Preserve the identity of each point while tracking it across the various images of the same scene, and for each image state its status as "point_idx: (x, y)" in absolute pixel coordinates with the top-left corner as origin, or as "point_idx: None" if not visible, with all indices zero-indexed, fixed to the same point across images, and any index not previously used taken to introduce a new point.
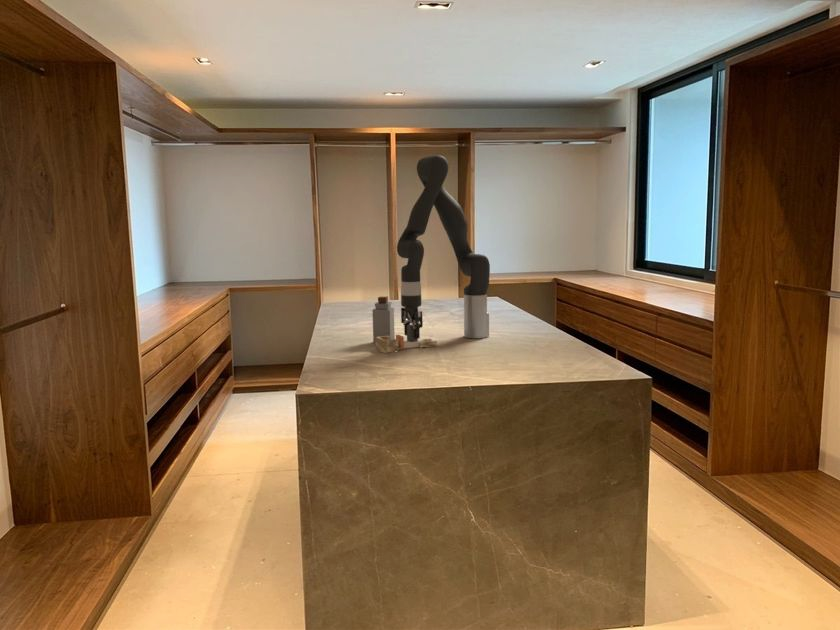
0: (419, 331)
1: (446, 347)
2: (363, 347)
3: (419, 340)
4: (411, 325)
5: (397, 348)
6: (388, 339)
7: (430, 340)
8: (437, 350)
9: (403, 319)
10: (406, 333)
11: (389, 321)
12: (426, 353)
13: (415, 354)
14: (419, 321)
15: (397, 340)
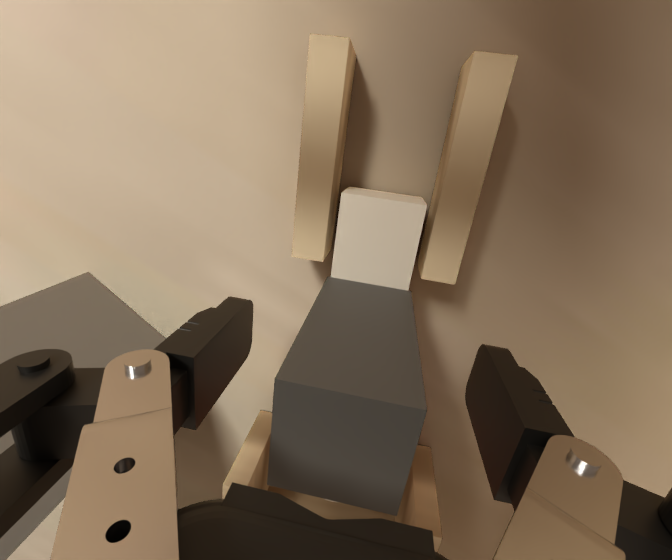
0: (539, 401)
1: (641, 8)
2: (186, 499)
3: (391, 255)
4: (360, 472)
5: (430, 473)
6: (256, 474)
7: (351, 59)
8: (665, 200)
9: (42, 481)
10: (243, 351)
11: (11, 552)
12: (665, 351)
13: (610, 427)
14: (616, 558)
15: (440, 538)
